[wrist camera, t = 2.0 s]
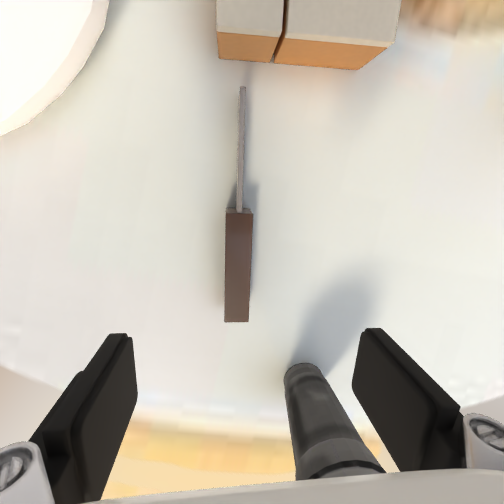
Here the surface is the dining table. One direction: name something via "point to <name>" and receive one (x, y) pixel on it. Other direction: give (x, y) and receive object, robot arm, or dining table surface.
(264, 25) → the cake slice
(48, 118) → the dining table surface
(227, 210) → the knife
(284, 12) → the cake
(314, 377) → the beverage cup
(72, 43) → the white round disc
